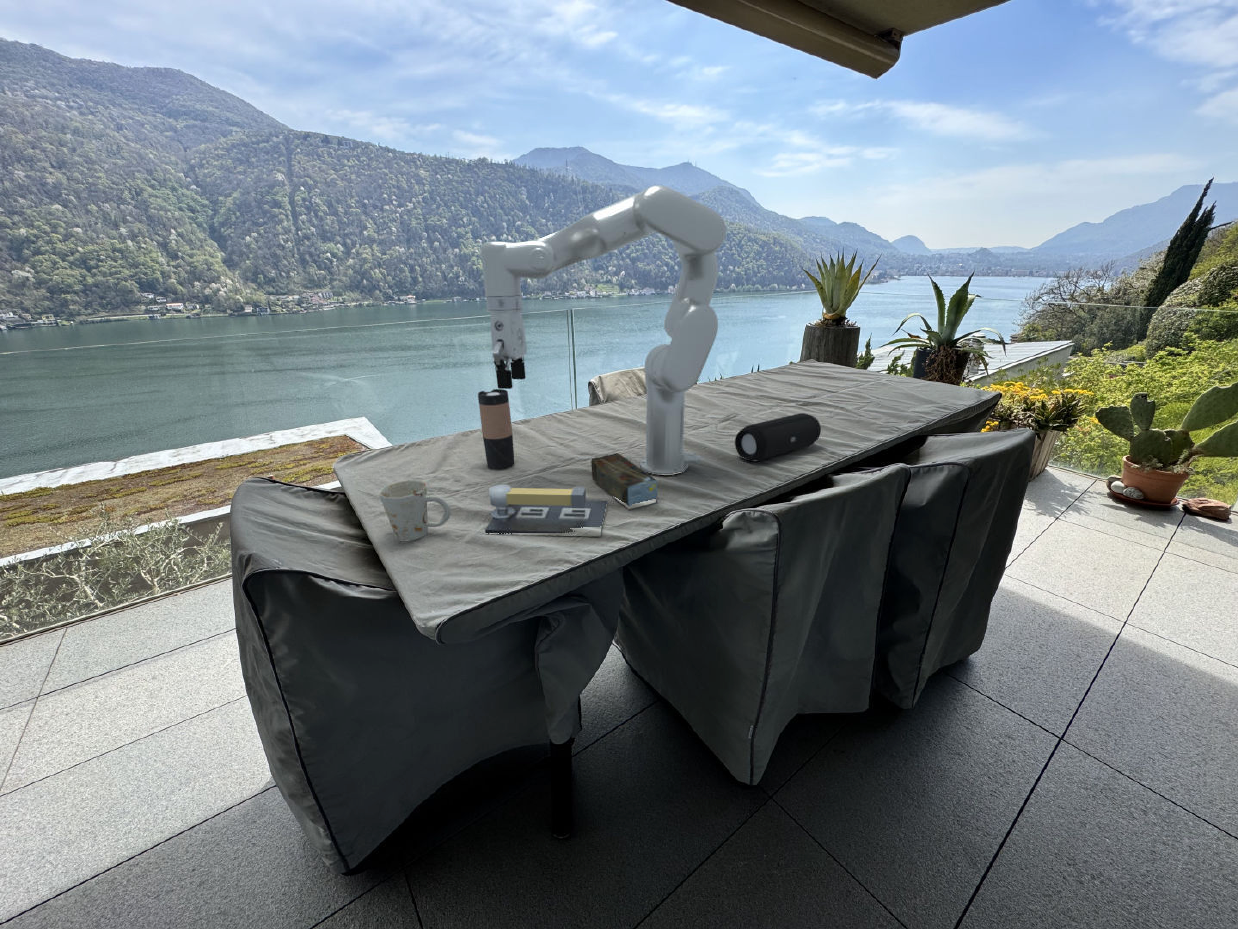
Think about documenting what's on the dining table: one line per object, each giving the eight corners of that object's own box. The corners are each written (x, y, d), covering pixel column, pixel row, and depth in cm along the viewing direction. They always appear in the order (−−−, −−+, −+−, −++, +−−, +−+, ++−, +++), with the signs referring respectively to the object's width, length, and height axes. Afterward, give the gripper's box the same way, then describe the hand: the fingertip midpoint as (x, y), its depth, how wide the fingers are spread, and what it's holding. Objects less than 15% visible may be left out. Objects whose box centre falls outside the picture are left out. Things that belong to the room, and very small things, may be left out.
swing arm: (586, 499, 101) (585, 486, 100) (583, 508, 97) (582, 495, 96) (494, 497, 102) (492, 484, 101) (487, 506, 98) (486, 493, 97)
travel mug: (508, 471, 125) (500, 396, 118) (481, 469, 127) (471, 395, 119) (519, 460, 132) (512, 389, 125) (494, 458, 134) (485, 388, 126)
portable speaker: (757, 468, 125) (761, 432, 121) (731, 457, 133) (733, 422, 129) (820, 449, 137) (826, 416, 134) (792, 440, 145) (797, 408, 141)
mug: (397, 524, 99) (388, 480, 95) (459, 521, 100) (452, 477, 96) (382, 545, 92) (371, 499, 88) (449, 542, 92) (441, 495, 89)
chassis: (607, 504, 106) (606, 490, 105) (600, 537, 93) (599, 521, 92) (501, 502, 108) (499, 488, 107) (480, 534, 95) (478, 518, 94)
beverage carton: (627, 511, 104) (626, 484, 101) (590, 480, 119) (589, 456, 117) (658, 503, 107) (658, 476, 105) (618, 474, 123) (618, 450, 120)
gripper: (508, 307, 94) (516, 392, 101) (532, 302, 110) (538, 376, 117) (472, 307, 95) (482, 392, 102) (501, 302, 111) (508, 375, 118)
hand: (512, 383), depth 109 cm, fingers open, 9 cm apart
